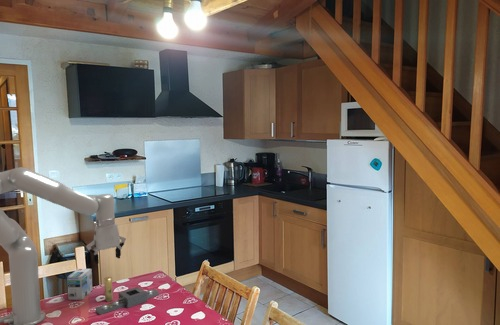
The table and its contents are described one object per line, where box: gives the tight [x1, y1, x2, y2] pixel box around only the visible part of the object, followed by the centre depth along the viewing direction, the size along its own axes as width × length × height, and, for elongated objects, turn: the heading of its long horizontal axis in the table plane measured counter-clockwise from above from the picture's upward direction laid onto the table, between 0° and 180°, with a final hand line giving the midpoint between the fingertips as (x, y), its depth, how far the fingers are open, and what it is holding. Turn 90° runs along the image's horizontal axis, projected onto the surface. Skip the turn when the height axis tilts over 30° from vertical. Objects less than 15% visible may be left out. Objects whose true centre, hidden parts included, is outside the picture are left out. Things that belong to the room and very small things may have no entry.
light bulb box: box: [66, 268, 93, 301], centre depth 172 cm, size 11×7×11 cm, turn 179°
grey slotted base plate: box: [95, 286, 160, 316], centre depth 163 cm, size 27×9×4 cm, turn 133°
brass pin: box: [103, 276, 114, 303], centre depth 166 cm, size 3×3×10 cm
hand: (107, 260), depth 165 cm, fingers open, 9 cm apart
